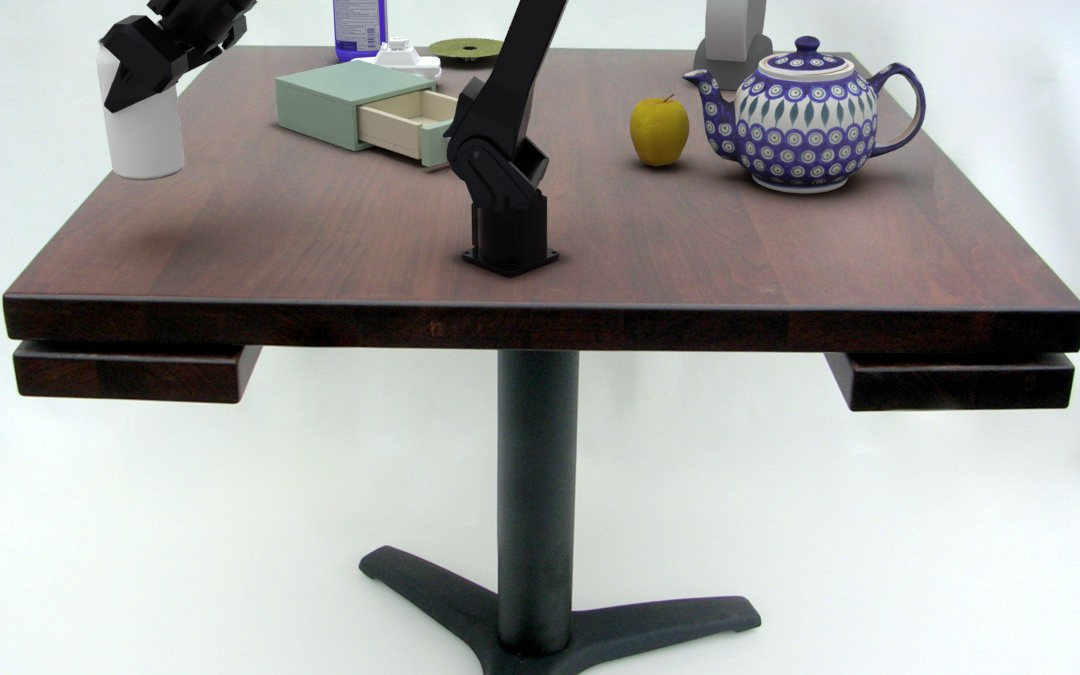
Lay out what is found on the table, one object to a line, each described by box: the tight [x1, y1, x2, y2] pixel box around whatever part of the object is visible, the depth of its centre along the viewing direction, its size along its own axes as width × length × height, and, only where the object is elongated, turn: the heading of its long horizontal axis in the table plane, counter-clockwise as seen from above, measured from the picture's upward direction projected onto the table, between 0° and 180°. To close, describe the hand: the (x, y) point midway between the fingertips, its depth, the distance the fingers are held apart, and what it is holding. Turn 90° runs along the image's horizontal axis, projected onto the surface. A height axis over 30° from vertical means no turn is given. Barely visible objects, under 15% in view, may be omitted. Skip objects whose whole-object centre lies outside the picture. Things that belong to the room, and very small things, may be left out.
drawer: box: [356, 89, 458, 168], centre depth 149 cm, size 18×11×4 cm, turn 45°
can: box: [95, 37, 186, 181], centre depth 122 cm, size 6×6×12 cm
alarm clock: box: [692, 0, 774, 91], centre depth 176 cm, size 16×10×18 cm, turn 162°
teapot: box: [681, 35, 927, 194], centre depth 140 cm, size 25×15×15 cm, turn 87°
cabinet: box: [274, 60, 437, 152], centre depth 158 cm, size 14×12×6 cm
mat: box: [427, 37, 504, 62], centre depth 188 cm, size 11×11×2 cm
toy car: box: [351, 35, 443, 81], centre depth 174 cm, size 6×12×7 cm, turn 91°
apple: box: [629, 92, 690, 168], centre depth 145 cm, size 6×6×8 cm
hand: (125, 98), depth 122 cm, fingers closed on can, 6 cm apart
